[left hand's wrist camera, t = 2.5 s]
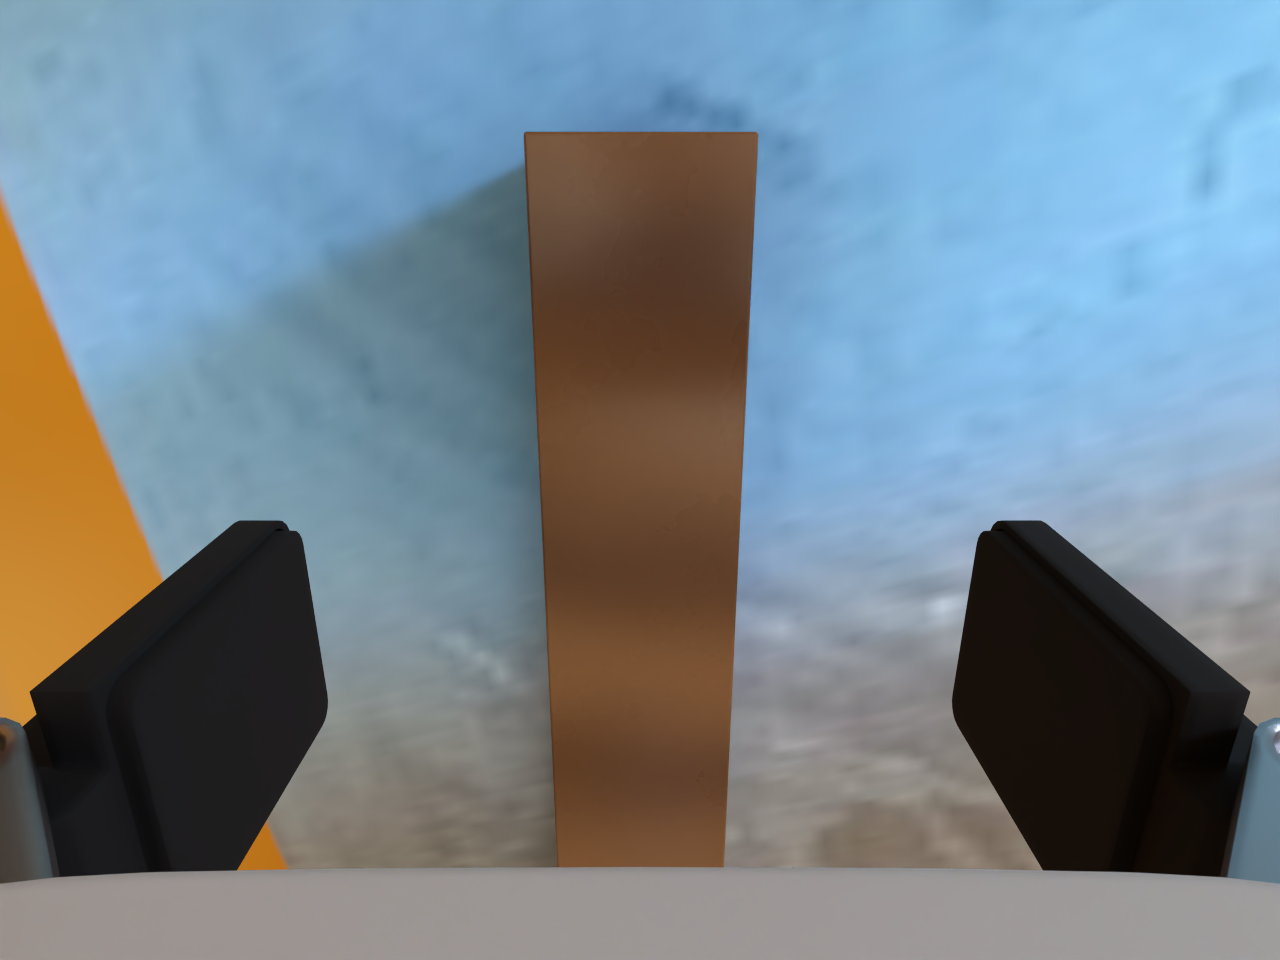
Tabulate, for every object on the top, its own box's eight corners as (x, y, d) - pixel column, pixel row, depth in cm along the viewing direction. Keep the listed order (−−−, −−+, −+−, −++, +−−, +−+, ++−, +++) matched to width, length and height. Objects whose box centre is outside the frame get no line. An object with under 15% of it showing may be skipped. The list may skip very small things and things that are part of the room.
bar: (554, 146, 23) (523, 131, 17) (727, 147, 23) (758, 131, 17) (590, 1221, 40) (582, 1406, 34) (689, 1221, 40) (698, 1406, 34)
